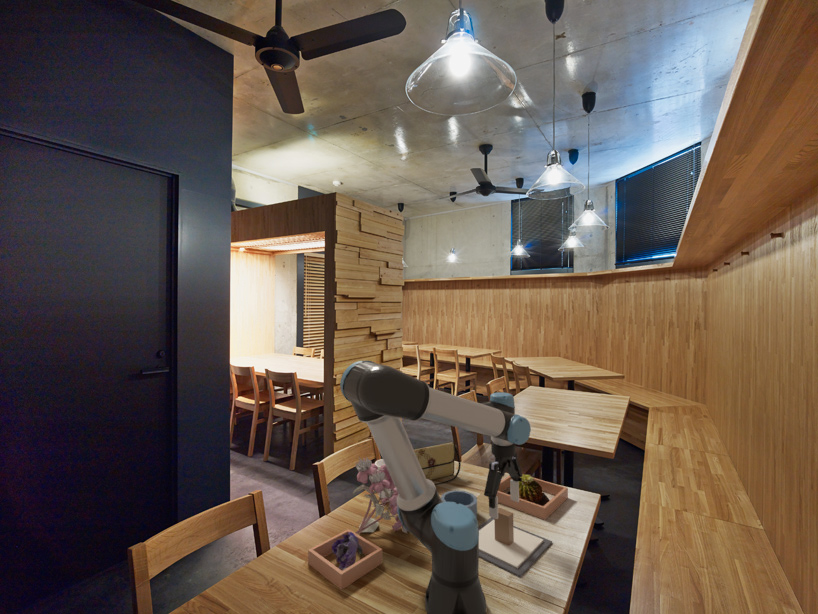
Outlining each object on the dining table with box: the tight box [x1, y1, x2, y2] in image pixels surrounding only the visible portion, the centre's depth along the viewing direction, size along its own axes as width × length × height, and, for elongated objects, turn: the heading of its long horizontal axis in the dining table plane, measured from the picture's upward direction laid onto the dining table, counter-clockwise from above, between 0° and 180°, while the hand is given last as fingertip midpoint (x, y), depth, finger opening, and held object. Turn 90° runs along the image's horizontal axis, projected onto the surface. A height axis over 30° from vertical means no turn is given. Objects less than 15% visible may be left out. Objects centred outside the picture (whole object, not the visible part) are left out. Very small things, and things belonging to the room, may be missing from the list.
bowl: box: [440, 489, 478, 518], centre depth 140 cm, size 13×13×6 cm
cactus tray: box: [488, 473, 569, 520], centre depth 152 cm, size 22×23×4 cm
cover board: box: [479, 507, 543, 569], centre depth 122 cm, size 18×18×10 cm
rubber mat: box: [478, 517, 553, 578], centre depth 122 cm, size 22×22×1 cm
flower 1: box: [332, 532, 363, 571], centre depth 114 cm, size 9×9×10 cm
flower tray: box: [307, 528, 383, 590], centre depth 113 cm, size 15×16×4 cm
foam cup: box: [374, 458, 391, 499], centre depth 156 cm, size 10×9×13 cm
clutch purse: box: [414, 441, 461, 486], centre depth 168 cm, size 30×7×15 cm, turn 118°
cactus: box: [505, 473, 550, 506], centre depth 151 cm, size 17×16×10 cm
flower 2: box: [352, 456, 408, 535], centre depth 129 cm, size 20×22×25 cm
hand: (504, 508), depth 122 cm, fingers open, 13 cm apart
